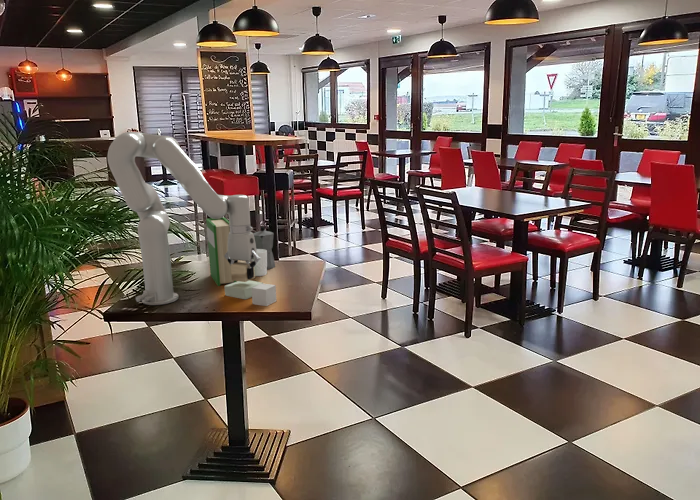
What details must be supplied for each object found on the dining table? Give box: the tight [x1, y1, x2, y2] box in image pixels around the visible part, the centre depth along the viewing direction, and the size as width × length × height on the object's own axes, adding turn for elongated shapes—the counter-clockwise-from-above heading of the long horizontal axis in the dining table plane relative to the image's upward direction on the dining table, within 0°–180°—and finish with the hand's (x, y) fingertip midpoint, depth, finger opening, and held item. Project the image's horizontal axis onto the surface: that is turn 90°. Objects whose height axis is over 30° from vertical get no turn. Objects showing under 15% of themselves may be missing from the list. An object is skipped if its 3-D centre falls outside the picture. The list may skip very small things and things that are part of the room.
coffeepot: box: [252, 226, 276, 270], centre depth 249 cm, size 15×9×18 cm, turn 4°
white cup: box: [249, 249, 268, 277], centre depth 237 cm, size 8×8×10 cm
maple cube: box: [231, 260, 256, 282], centre depth 210 cm, size 6×6×6 cm
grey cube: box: [251, 282, 277, 307], centre depth 200 cm, size 6×6×6 cm
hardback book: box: [205, 217, 237, 287], centre depth 229 cm, size 18×7×24 cm, turn 22°
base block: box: [223, 280, 264, 300], centre depth 211 cm, size 10×10×4 cm
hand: (243, 276), depth 210 cm, fingers closed on maple cube, 5 cm apart
